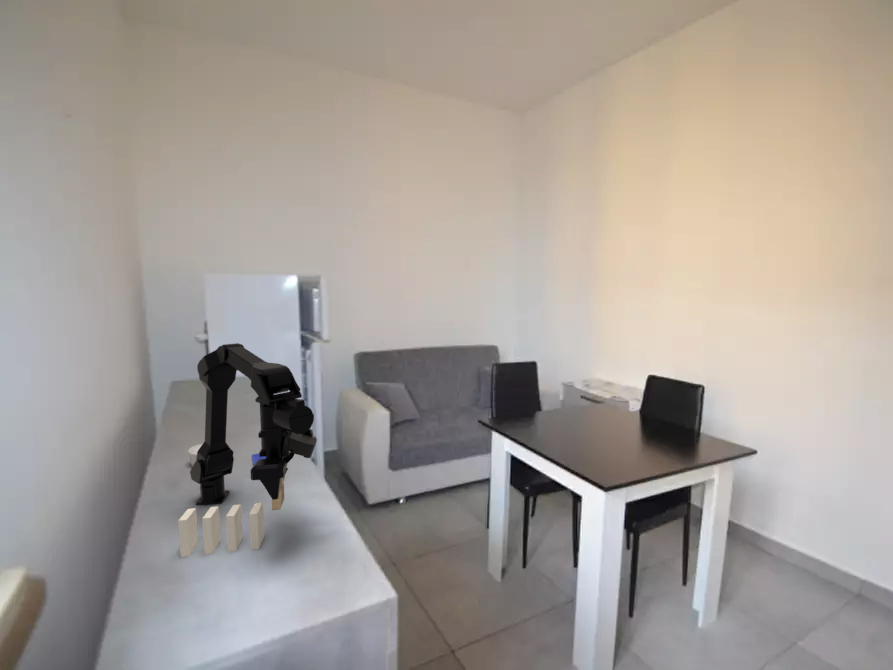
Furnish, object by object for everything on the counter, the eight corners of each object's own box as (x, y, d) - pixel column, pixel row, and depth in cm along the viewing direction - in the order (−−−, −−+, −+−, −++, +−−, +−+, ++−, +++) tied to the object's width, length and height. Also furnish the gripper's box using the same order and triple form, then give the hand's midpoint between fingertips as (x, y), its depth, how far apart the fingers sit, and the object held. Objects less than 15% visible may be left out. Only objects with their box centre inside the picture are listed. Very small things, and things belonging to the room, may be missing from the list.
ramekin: (211, 471, 134) (210, 455, 134) (180, 468, 136) (179, 452, 136) (235, 458, 145) (234, 442, 145) (206, 455, 147) (205, 440, 147)
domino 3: (234, 539, 97) (233, 505, 96) (242, 538, 97) (240, 504, 97) (227, 552, 92) (226, 516, 91) (236, 551, 92) (234, 515, 92)
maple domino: (276, 499, 98) (275, 465, 97) (284, 498, 98) (283, 464, 98) (272, 510, 93) (270, 474, 92) (280, 509, 93) (278, 473, 93)
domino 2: (212, 541, 96) (210, 506, 95) (220, 540, 97) (218, 506, 96) (204, 554, 91) (202, 518, 91) (212, 553, 92) (210, 517, 91)
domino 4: (256, 537, 98) (255, 503, 97) (264, 536, 98) (262, 502, 97) (250, 549, 93) (249, 514, 92) (258, 549, 93) (257, 513, 93)
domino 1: (190, 543, 95) (187, 508, 95) (198, 542, 96) (195, 508, 95) (180, 557, 91) (178, 520, 90) (189, 556, 91) (186, 519, 90)
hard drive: (281, 462, 138) (277, 450, 149) (253, 467, 134) (251, 454, 145) (281, 467, 138) (277, 454, 149) (253, 472, 135) (251, 458, 146)
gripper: (307, 436, 86) (310, 511, 88) (318, 411, 104) (320, 473, 106) (248, 439, 84) (251, 516, 86) (269, 413, 102) (271, 476, 104)
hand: (277, 493), depth 95 cm, fingers closed on maple domino, 5 cm apart
